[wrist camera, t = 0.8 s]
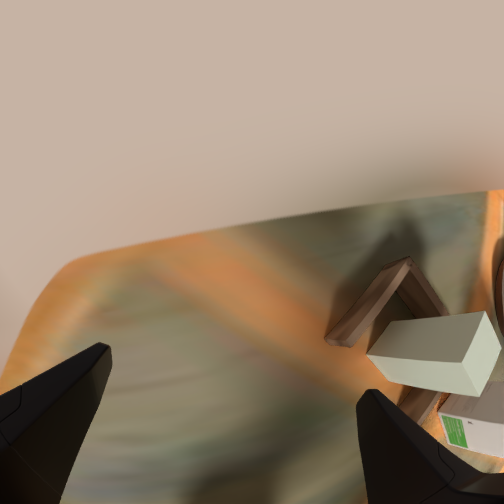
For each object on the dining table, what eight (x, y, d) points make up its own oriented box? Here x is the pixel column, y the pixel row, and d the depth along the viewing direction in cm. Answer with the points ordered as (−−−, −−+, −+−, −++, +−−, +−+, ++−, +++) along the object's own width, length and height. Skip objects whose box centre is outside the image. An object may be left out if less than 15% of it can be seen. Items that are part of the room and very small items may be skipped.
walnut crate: (396, 418, 22) (419, 426, 19) (324, 338, 23) (345, 340, 20) (443, 347, 25) (467, 347, 22) (385, 264, 26) (409, 255, 23)
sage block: (411, 348, 25) (501, 348, 13) (388, 381, 23) (479, 397, 12) (391, 321, 25) (485, 310, 14) (365, 354, 24) (461, 362, 12)
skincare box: (435, 410, 23) (536, 427, 8) (462, 374, 25) (557, 375, 10) (447, 445, 22) (531, 466, 7) (473, 412, 24) (554, 420, 9)
